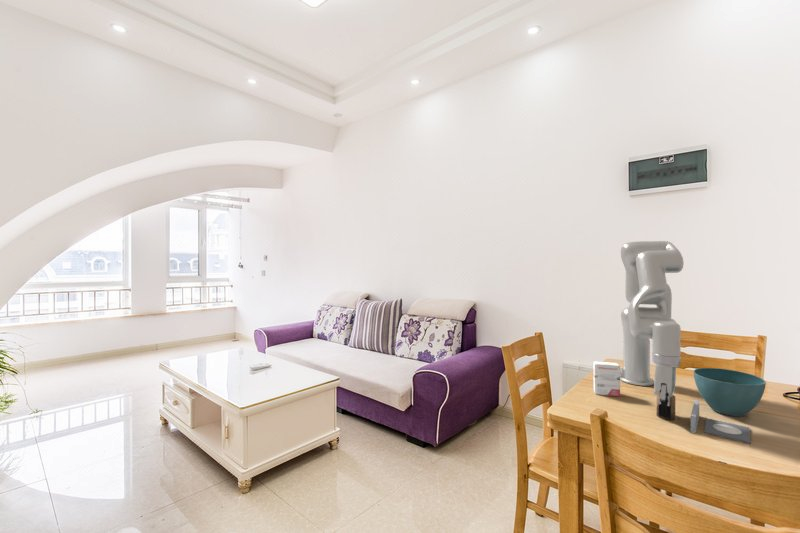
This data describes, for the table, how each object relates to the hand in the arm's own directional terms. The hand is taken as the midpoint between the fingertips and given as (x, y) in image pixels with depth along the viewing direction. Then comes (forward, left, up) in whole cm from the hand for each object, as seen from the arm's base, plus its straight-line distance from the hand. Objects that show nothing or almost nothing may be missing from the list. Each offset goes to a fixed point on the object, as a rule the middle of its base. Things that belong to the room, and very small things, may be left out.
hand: (665, 413), depth 121 cm
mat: (+15, 0, -1) cm, 15 cm away
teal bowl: (+15, +19, -1) cm, 24 cm away
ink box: (-20, +11, -1) cm, 23 cm away
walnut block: (0, 0, -1) cm, 1 cm away
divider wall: (+8, 0, -1) cm, 8 cm away
